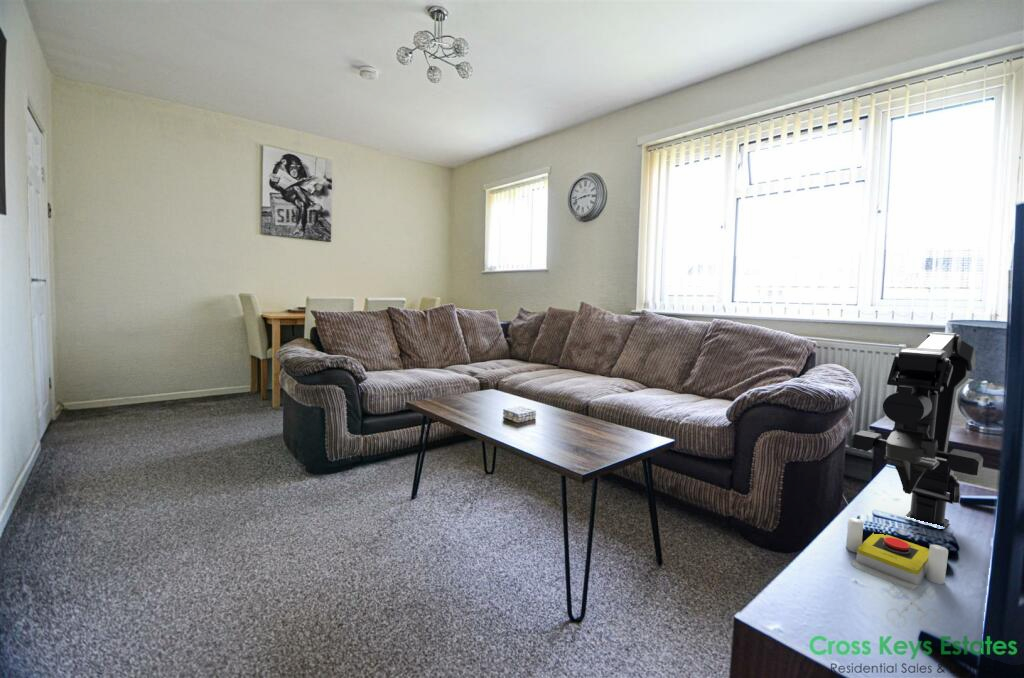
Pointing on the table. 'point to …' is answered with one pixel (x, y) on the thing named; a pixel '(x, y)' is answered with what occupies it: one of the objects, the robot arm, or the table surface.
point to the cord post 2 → (937, 564)
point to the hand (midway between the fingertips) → (908, 493)
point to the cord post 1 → (854, 534)
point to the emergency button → (893, 560)
